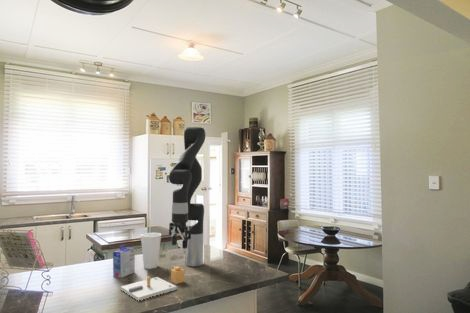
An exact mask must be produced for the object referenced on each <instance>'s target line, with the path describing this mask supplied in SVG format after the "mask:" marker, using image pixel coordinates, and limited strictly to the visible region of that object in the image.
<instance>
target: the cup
mask: <svg viewBox="0 0 470 313" xmlns="http://www.w3.org/2000/svg"><path fill="white" fill-rule="evenodd" d="M161 239H162V233H161V232H146V233H142V234H141V235H140V242H141V253H142V262H143V263H142V264H143V268H144V269H147V270H151V269H156V268H158V264H159V256H160V247H161Z"/></svg>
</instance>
